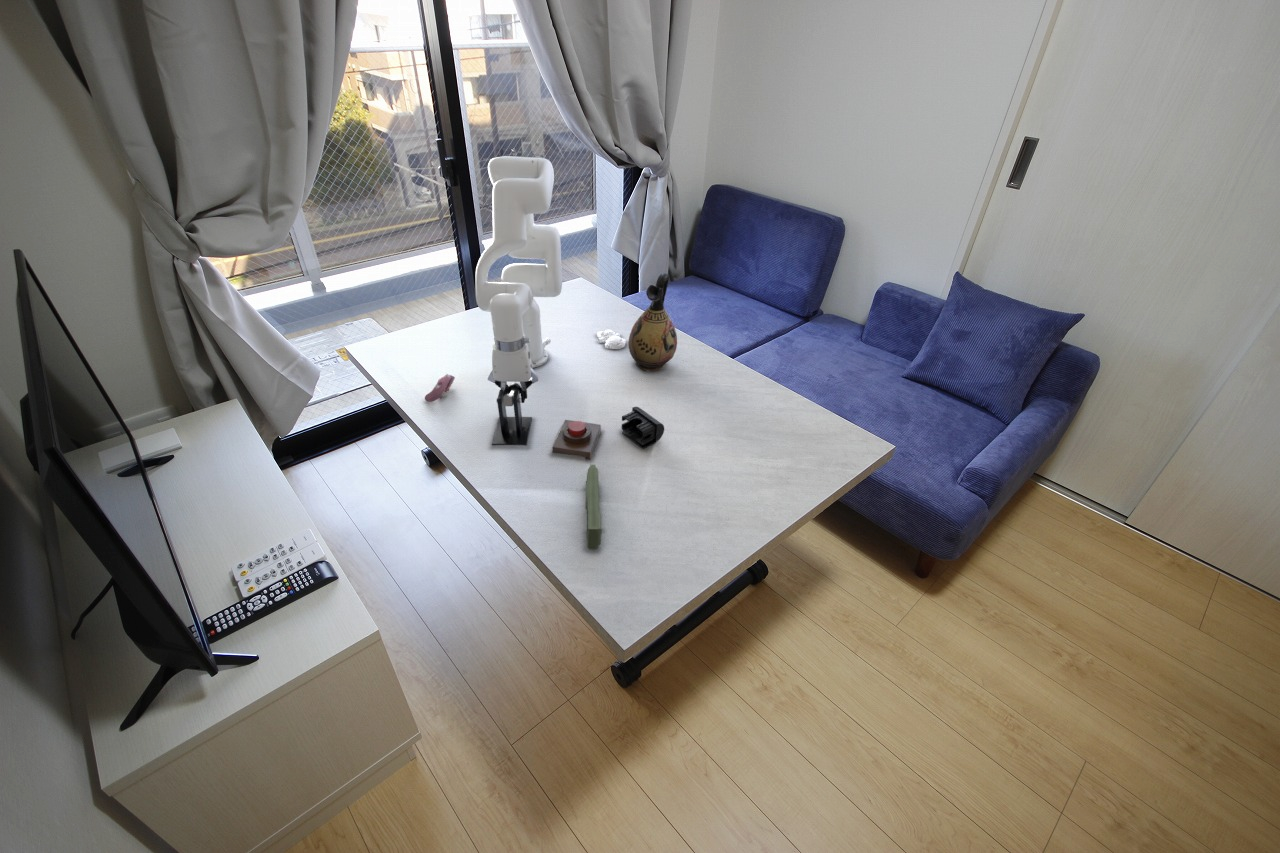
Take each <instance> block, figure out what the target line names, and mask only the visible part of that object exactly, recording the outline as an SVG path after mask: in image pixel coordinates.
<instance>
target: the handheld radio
mask: <svg viewBox="0 0 1280 853" xmlns="http://www.w3.org/2000/svg"><path fill="white" fill-rule="evenodd" d="M599 487H600V486H599V469H598V467H597V466H596V464H590V465H589V467H588V469H587V472H586V480H585V512H586V547H587V549H588V550H589V551H591V550H598V549H599V547H600V545H601V543H602V542H601V541H602V514H601V512H600V491H599V490H600V489H599Z"/></svg>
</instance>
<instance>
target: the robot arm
mask: <svg viewBox="0 0 1280 853" xmlns="http://www.w3.org/2000/svg"><path fill="white" fill-rule="evenodd" d="M487 171H488V176H489V179H490V182H491V184H492V186H493V187H492V241H491V242H490V244H489V245H488V246H486V248H485V250H484V251H483V252H482V253H481V255H480V256H479V259H478V262H477V264H476V268H475V301H476V305H477V306H478V308H479V309H480V310H481V311H482V312H489V313H490V318H491V326H492V333H493V340H494V343H493V344H492V350H491V371H490V372H489V374H488V375H487V381H489V382H490V383H493V384H494V385H495V386H497V387H498V388H500V390H504V396H505V394H510V393H509V391H508V388H509V386H510V385H508V384H507V383H508V382H511V383H519V385H520V386H521V391H520V398H521V403H520V404H525V401H526V400H527V399H528V388H530V387H531V386H532V385H533V384H535V383H538V382H539V380H540V376H539V375H538V374H537V373H536V372H535V370H534V368H538V367H541V366H543V365H545V364H546V362H547V361H548V359H549V354H548V352H547V351H546V350H545V348H546V346H548V345H550V344H551V342H552V341H551V338H549V337H546V338H545V339H543V335H542V321H541V309H540V306H539V304H538V302H537V301H536V299H535V298H556V297H558V296H560V295H561V292H562V289H563V269H562V267H563V264H562V240H561V235H560V232H559V229H558V228H557V227H556V226H553V225H550V224H536V223H535V215H544V214H546V213H548V212H549V210H550V207H551V205H552V204H551V203H552V198H553V189H554V182H555V172H554V167H553V163H552V162H551V161H550V160H549V159H547V158H544V157H534V156H533V157H531V156H530V157H529V156H509V155H508V156H497V157H493V158H491V159H490V160H489V161H488V164H487ZM506 255H508V256H509V257H511V258H513V259H522V260H543V261H544V262H545V263H522V262H521V263H511V264H508V265H506V266H504V268H503V269H502V272H501V282H499V281H498V282H497V281H496V282H495V281H488V279H489V278H488V277H489V271H490V269H491V267H492V265H493V264H494V263H495V262H497V261H498V260H499V259H500V258H502V257H504V256H506Z"/></svg>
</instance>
